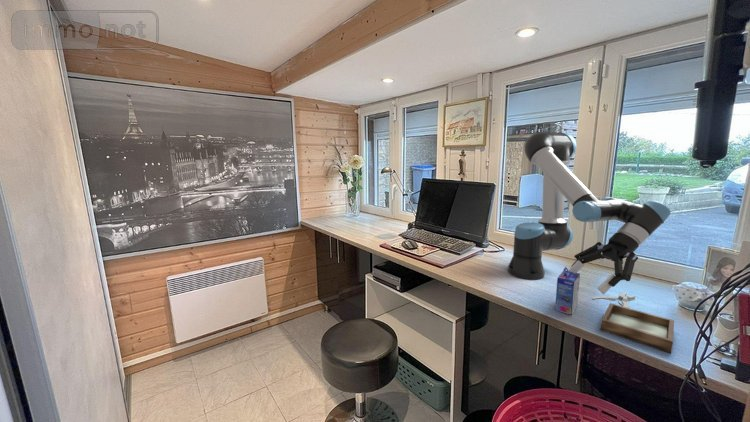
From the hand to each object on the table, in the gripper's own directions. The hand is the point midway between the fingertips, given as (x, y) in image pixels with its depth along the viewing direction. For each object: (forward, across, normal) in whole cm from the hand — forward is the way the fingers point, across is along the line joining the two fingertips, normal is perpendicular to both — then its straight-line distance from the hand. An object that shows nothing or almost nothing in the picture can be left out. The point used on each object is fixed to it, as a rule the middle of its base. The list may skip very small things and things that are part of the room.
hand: (583, 282), depth 101 cm
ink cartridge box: (+10, +2, -4) cm, 11 cm away
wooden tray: (+2, -14, -12) cm, 18 cm away
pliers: (-6, +4, -21) cm, 22 cm away
